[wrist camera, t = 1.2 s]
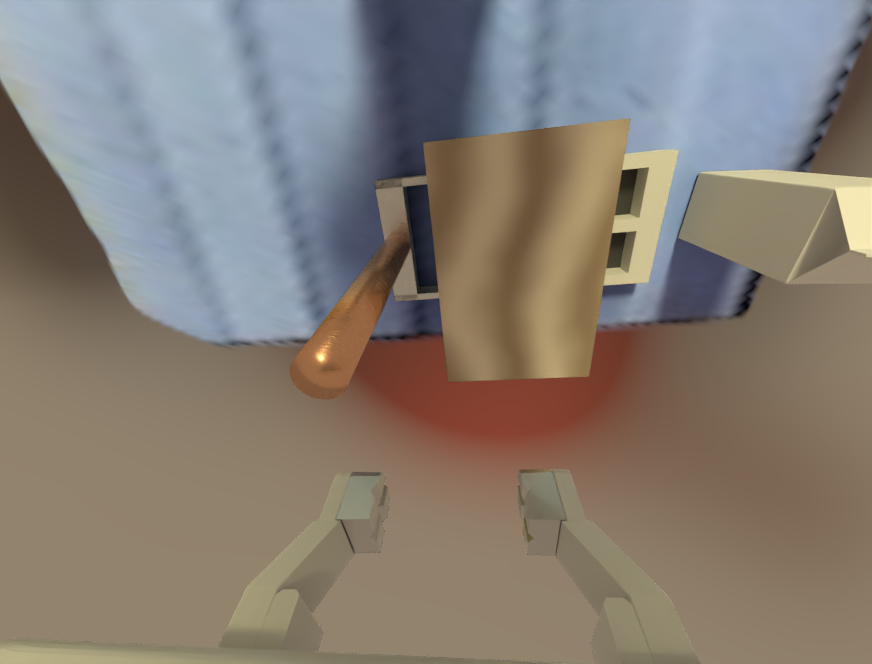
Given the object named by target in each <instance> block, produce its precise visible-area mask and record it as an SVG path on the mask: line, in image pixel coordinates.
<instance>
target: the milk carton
mask: <svg viewBox="0 0 872 664" xmlns="http://www.w3.org/2000/svg"><path fill="white" fill-rule="evenodd" d="M678 238H679V239H682V240H684V241H686V242H689V243H691V244H694V245H696V246H698V247H701V248H703V249H705V250H708V251H710V252H712V253H715V254H717V255H719V256H722V257H724V258H726V259H729V260H731V261H733V262H736V263H738V264H740V265H743V266H745V267H747V268H750V269H752V270H754V271H757V272H759V273H761V274H764V275H766V276H769V277H771V278H773V279H776V280H778V281H780V282H783V283H785V284H832V283H833V284H841V283H872V178H862V177H850V176H838V175H825V174H814V173H802V172H790V171H778V170H740V171H710V172H700V173H699V175H698V178H697V181H696V184H695V187H694V191H693V194H692V197H691V200H690V203H689V206H688V209H687V212H686V215H685V218H684V221H683V224H682V227H681V230H680V233H679V237H678Z"/></svg>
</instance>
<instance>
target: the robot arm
mask: <svg viewBox="0 0 872 664" xmlns="http://www.w3.org/2000/svg"><path fill="white" fill-rule="evenodd" d="M518 478H519V484H520V485H519V486H518V503H519V510H520V516H521V518H522V520H523V521H524V522H523V524H524V525H523V535H524V540H525V546H526V552H527V555H541V556H543V555H544V556H556V558H557V560H558V561H559V562H560V564H561V565H562V567H563V568H564V569H565V571H566V572H567V573H568V575H569V576H570V578H571V579H572V580H573V582H574V583H575V584H576V586H577V587H578V588H579V590H580V591H581V592H582V594H583V595H584V597H585V598H586V599H587V601H588V602H589V603H590V605H591V606H592V608H593V609H594V610H595V612H596V613H597V614H598V616H599V618H598V621H597V624H596V627H595V630H594V633H593V635H592V639H591V641H590V645H591V649H592V653H593V657H594V660H595V664H700V662H699V660H698V658H697V656H696V653H695V651H694V649H693V647H692V645H691V643H690V640H689V638H688V636H687V634H686V632H685V630H684V628H683V626H682V623H681V621H680V619H679V617H678V615H677V613H676V610H675V608H674V606H673V604H672V602H671V600H670V598H669V597H668V596H667V595H666V594H665V593H664V592H663V591H662V590H661V589H660V588H659V587H658V586H657V585H656V584H655V583H654V582H653V581H652V580H651V579H650V578H649V577H648V576H647V575H646V574H645V573H644V572H643V571H642V570H641V569H640V568H639V567H638V566H637V565H636V564H635V563H634V562H633V561H632V560H631V559H630V558H629V557H628V556H627V555H626V554H625V553H624V552H623V551H622V550H621V549H620V548H619V547H618V546H617V545H616V544H615V543H614V542H613V541H612V540H610V538H608V536H607V535H605V533H603V531H601V530H600V529H599V528H598V527H597V526H596V525H595V524H594V523H593V522H592V521H587V520H586V517H585V514H584V512H583V509H582V506H581V503H580V500H579V498H578V494H577V491H576V488H575V486H574V483H573V480H572V477H571V474H570V472H569V471H568V469H554V470H553V469H552V470H550V469H532V470H519V473H518ZM384 483H385V476H384V473H383V472H338V474H337V475H336V476H335V478H334V481H333V484H332V486H331V489H330V492H329V494H328V497H327V500H326V502H325V505H324V508H323V510H322V513H321V516H320V518H319V520H314V521H313V522H312V523H311V524H310V525H309V526H308V527H307V528H306V529H305V530H304V531H303V532H302V533H301V534H300V535H299V536H298V537H297V538H296V539H295V540H294V541H293V542H292V543H291V544H290V545H289V546H288V547H287V548H286V549H285V550H284V551H283V552H282V553H281V554H280V555H279V556H278V557H277V558H276V559H275V560H274V561H272V562H271V564H269V566H267V567H266V569H264V570H263V571H262V572H261V573H260V574H259V575H258V576H257V577H256V578H255V579H254V580H253V581H252V582H251V583H250V584H249V585H248V586H247V588H246V590H245V592H244V594H243V596H242V598H241V600H240V602H239V605H238V607H237V609H236V611H235V613H234V615H233V617H232V619H231V621H230V623H229V625H228V627H227V629H226V631H225V633H224V635H223V637H222V640H221V642H220V644H219V646H218V647H204V646H182V645H158V644H137V643H116V642H92V641H67V640H47V639H30V638H16V639H9V640H6V641H3V642H1V643H0V664H580V663H558V662H557V663H556V662H536V661H513V660H491V659H468V658H448V657H425V656H404V655H403V656H402V655H381V654H358V653H337V652H318V651H319V647H320V643H321V640H322V636H323V631H322V628H321V626H320V625H319V623H318V622H317V621H316V619H315V617H314V616H313V614H312V613H313V612H314V610H315V609H316V607H317V606H318V605H319V603H320V602H321V600H322V599H323V598H324V597H325V595H326V594H327V592H328V591H329V590H330V588H331V587H332V585H333V584H334V583H335V581H336V580H337V578H338V577H339V576H340V575H341V573H342V572H343V570H344V569H345V568H346V566H347V565H348V563H349V562H350V561H351V559H352V558H353V557H354V553H380V552H381V547H382V542H383V537H384V532H385V530H384V527H383V524H382V523H383V521H384V520H385V519H386V518H387V516H388V511H389V499H390V498H389V491H388V487H387V486H386V485H384Z"/></svg>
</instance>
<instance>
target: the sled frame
mask: <svg viewBox="0 0 872 664" xmlns="http://www.w3.org/2000/svg"><path fill="white" fill-rule="evenodd" d="M374 184H375V190H376V195H377V201H378V207H379V212H380V218H381V224H382V229H383V235H384V241H385V242H384V243H383V244H382V246H381V247H380V248H379V249H378V251H377V252H376V253H375V255H374V256H373V257H372V259H371V260H370V261H369V263H368V264H367V265H366V266H365V268H364V269H363V270H362V272H361V273H360V274H359V276H358V277H357V278H356V279H355V281H354V282H353V283H352V285H351V286H350V287H349V289H348V290H347V291H346V293H345V294H344V295H343V296H342V298H341V299H340V300H339V302H338V303H337V304H336V306H335V307H334V308H333V309H332V311H331V312H330V313H329V315H328V316H327V317H326V319H325V320H324V321H323V323H322V324H321V325H320V326H319V328H318V329H317V330H316V332H315V333H314V334H313V336H312V337H311V338H310V339H309V341H308V342H307V343H306V345H305V346H304V347H303V349H302V350H301V351H300V353H299V354H298V355H297V357H296V358H295V359H294V360H293V362H292V364H291V366H290V376H291V379H292V381H293V383H294V384H295V385H296V387H297V388H298V389H299V390H301V391H302V392H303V393H305V394H307V395H309V396H311V397H314V398H317V399H333V398H336V397H338V396H340V395H341V394H342V393H343V392H344V391H345V389H346V388H347V386H348V383H349V381H350V379H351V377H352V375H353V373H354V370H355V368H356V366H357V364H358V362H359V360H360V357H361V355H362V353H363V351H364V349H365V347H366V344H367V342H368V340H369V338H370V336H371V334H372V331H373V329H374V327H375V325H376V323H377V321H378V319H379V316H380V314H381V312H382V310H383V308H384V306H385V303H386V301H387V299H388V297H389V295H390V293H391V290H392V288H393V292H394V297H395V301H408V300H422V299H437V298H439V291H438V285H435V286H421V287H419V280H418V272H417V265H416V258H415V250H414V243H413V235H412V228H411V220H410V213H409V205H408V198H407V190H406V186H415V185H424V184H427V176H426V174H425V175H416V176H406V177H397V178H388V179H379V180H377V181H374Z"/></svg>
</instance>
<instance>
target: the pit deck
mask: <svg viewBox="0 0 872 664" xmlns="http://www.w3.org/2000/svg"><path fill="white" fill-rule="evenodd" d="M678 151H679V150H657V151H647V152H638V153H629V154H625V155H624V162H623V168H622V174H621V180H620V186H619V193H618V199H617V205H616V211H615V217H614V223H613V230H612V236H611V242H610V248H609V254H608V261H607V267H606V273H605V279H604V285H618V284H633V283H648V281H649V276H650V272H651V268H652V263H653V259H654V255H655V251H656V246H657V242H658V238H659V233H660V229H661V225H662V220H663V216H664V212H665V207H666V203H667V199H668V195H669V190H670V186H671V182H672V177H673V173H674V169H675V164H676V160H677V156H678ZM604 285H603V286H604Z"/></svg>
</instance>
